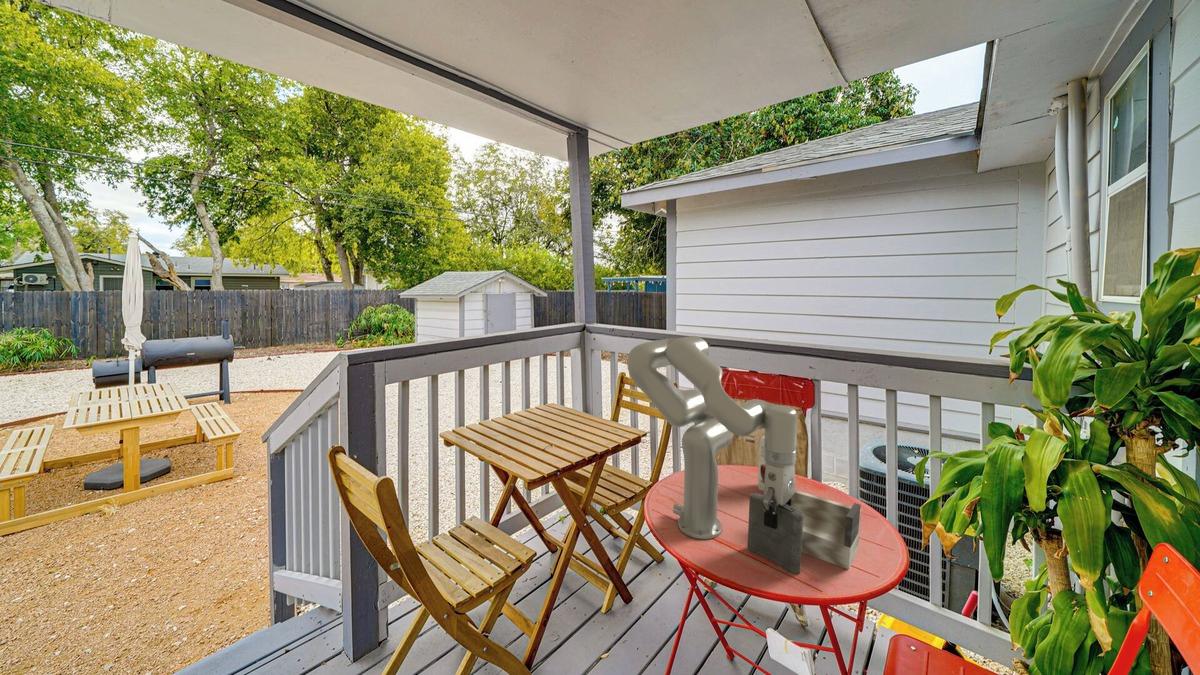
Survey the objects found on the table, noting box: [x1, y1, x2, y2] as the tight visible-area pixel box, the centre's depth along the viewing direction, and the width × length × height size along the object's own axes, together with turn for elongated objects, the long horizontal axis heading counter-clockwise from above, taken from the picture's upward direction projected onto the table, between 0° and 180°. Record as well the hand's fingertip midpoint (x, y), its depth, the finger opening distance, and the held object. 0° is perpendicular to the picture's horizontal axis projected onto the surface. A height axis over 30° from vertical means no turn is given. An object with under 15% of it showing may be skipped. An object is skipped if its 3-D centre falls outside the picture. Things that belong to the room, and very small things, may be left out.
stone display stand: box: [791, 489, 862, 570], centre depth 125 cm, size 20×10×14 cm, turn 50°
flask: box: [747, 492, 804, 576], centre depth 119 cm, size 4×14×18 cm, turn 40°
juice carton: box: [757, 435, 766, 492], centre depth 156 cm, size 8×9×19 cm
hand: (777, 518), depth 118 cm, fingers open, 9 cm apart
